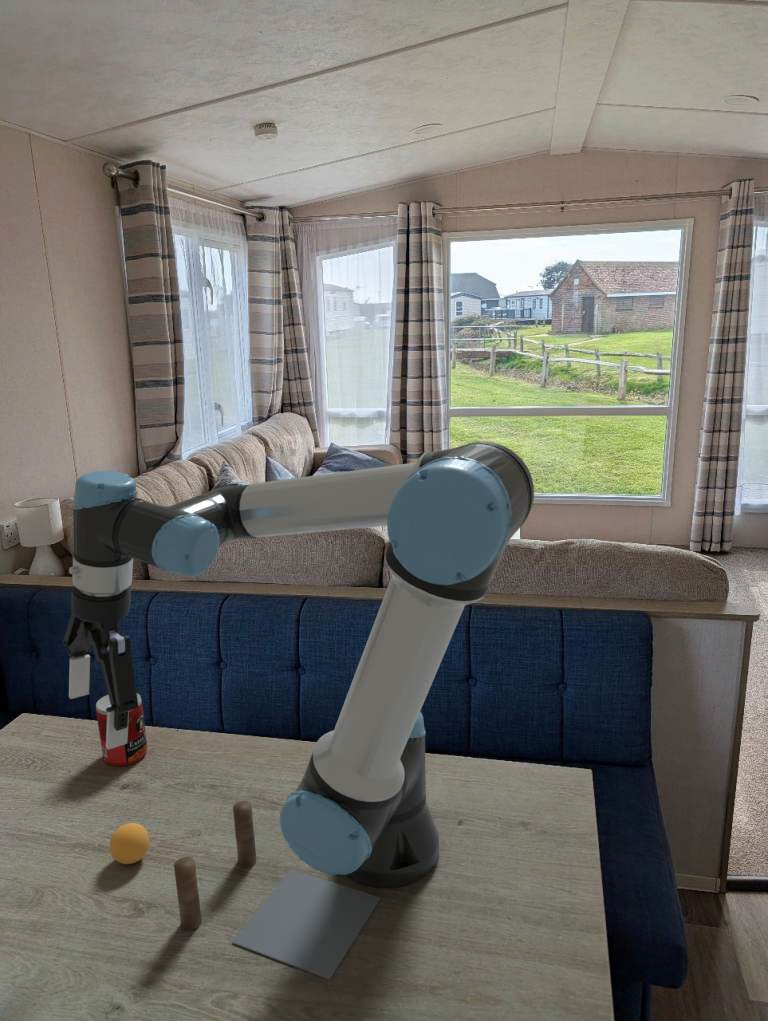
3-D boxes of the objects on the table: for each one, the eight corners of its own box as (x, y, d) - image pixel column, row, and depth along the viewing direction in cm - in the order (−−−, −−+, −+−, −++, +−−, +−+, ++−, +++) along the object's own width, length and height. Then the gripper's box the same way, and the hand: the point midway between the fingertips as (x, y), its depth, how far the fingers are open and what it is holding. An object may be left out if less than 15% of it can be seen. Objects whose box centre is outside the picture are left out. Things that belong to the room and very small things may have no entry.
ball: (159, 852, 112) (155, 820, 111) (132, 877, 107) (128, 843, 106) (130, 843, 114) (126, 811, 113) (103, 866, 109) (99, 833, 108)
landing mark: (380, 898, 101) (380, 897, 101) (329, 980, 89) (329, 978, 89) (291, 870, 107) (291, 869, 107) (232, 943, 95) (232, 942, 95)
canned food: (135, 769, 133) (127, 713, 131) (94, 765, 135) (86, 710, 132) (156, 745, 141) (149, 692, 138) (117, 742, 142) (109, 689, 140)
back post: (259, 857, 110) (255, 803, 108) (249, 868, 108) (244, 814, 106) (245, 852, 111) (240, 799, 109) (234, 864, 109) (229, 809, 107)
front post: (205, 918, 99) (199, 860, 97) (193, 933, 97) (185, 873, 95) (189, 912, 100) (183, 854, 98) (177, 926, 98) (169, 867, 96)
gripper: (40, 554, 107) (39, 683, 114) (112, 632, 91) (106, 778, 97) (93, 547, 112) (89, 671, 119) (170, 620, 95) (160, 759, 102)
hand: (96, 719), depth 108 cm, fingers open, 13 cm apart
